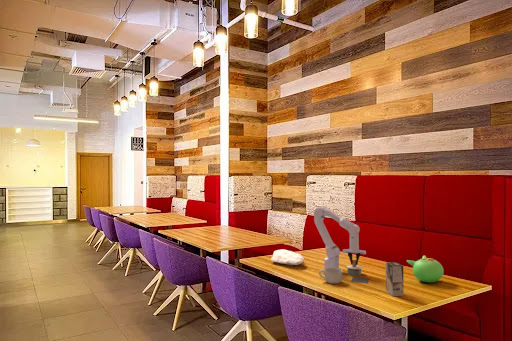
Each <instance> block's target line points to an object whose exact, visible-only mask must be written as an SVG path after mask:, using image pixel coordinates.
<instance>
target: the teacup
mask: <svg viewBox="0 0 512 341" xmlns="http://www.w3.org/2000/svg"><path fill="white" fill-rule="evenodd" d="M321 273H323V275H324V276H323V275H322V274H321ZM318 275H319V276H320V277H321V278H322V279H323V280H325V281H326V283H328V284H332V285H337V284H340V283H342V281H343V269H341V268H340V267H339V268H326V269H325V270H323V269H320V270H318Z"/></svg>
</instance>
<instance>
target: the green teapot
mask: <svg viewBox="0 0 512 341" xmlns="http://www.w3.org/2000/svg"><path fill="white" fill-rule="evenodd" d="M406 263H408V264H409V265H411V266H412V274H413V275H414V277H415V278H416V279H417V280H419V281H421V282H423V283H435V282H438V281H440V280H441V279H442V278H443V276H444V271H445V270H444V267H443V265H442V264H441V263H440V262H439V261H437V260H436V259H434V258H431V257H430V258H428V257H427V256H426V255H423V256H422V258H420V259H417V260H416V261H415V260H410V259H409V260H408V259H407V260H406Z"/></svg>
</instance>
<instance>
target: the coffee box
mask: <svg viewBox="0 0 512 341" xmlns="http://www.w3.org/2000/svg"><path fill="white" fill-rule="evenodd" d="M404 287H405V286H404V265H402V264H400V263H398V262H396V261H395V262H394V261H388V262H385V291H386V292H388V294H389V295H391V296H392V297H403V296H404V294H405V291H404Z"/></svg>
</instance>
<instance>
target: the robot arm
mask: <svg viewBox="0 0 512 341" xmlns="http://www.w3.org/2000/svg"><path fill="white" fill-rule="evenodd" d="M325 217H329V218H331V219H333V220H334V221H336V222H337V223H338V224H339V226H340V227H341V228H343V229H345V230H346V231H348V233H349V248H347V249H345V248H344V249H342V253H343V254H347V256H348V258H349V261H350V265H352V260H353V254H356V255H355V258H356V259H355V260H356V265H357V266H359V265H358V263H359V260H360V256H361V255H366V254H367V251H366V250H362V249H360V246H359V244H360V243H359V241H360V240H359V233H360V230H361V228H360V226H359V225H358V224H355V223H354V222H351V221H350V220H348V218H347V217H346V218H345V217H343V218H342V217H341V216H339V215H338V214H336V213H335V212H333V211H332V210H331V209H330V208H327V207H326V206H320V207H319V206H317V207H316V208H315V209H314V211H313V218H314V219H313V221H314V224H315V226H316V228H317V231H318V232H319V235H320V236H321V239H322V241H323V243H324V245H325V252H326V256H327V257H325V258H324V261H323V262H324V265H323V266H324V270H325V269H326V268H339V269H340V254H341V250H340V248H339V247H338V246H337V244H336V243H334V241H333V240H332V238H331V236H330V233H329V231H328V229H327V227H326V225H325V223H324V220H325Z"/></svg>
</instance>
